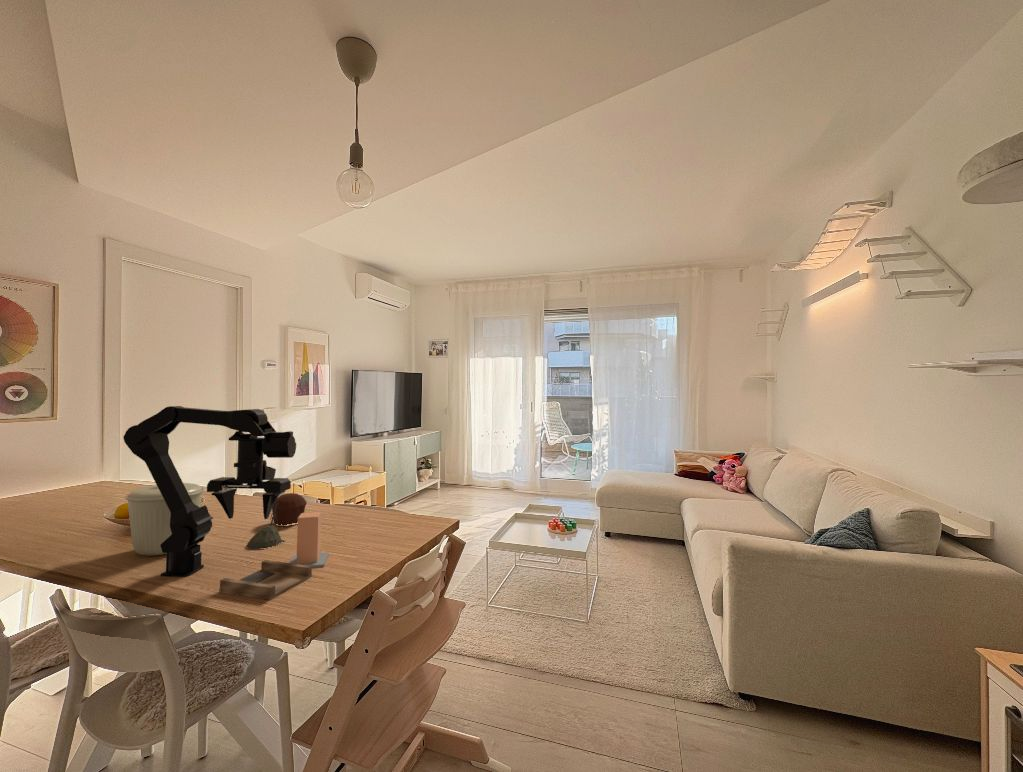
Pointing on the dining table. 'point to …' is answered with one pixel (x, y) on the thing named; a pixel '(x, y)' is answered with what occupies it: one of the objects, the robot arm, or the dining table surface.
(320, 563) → the slate mat
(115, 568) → the dining table surface
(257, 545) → the sword in stone
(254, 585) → the walnut channel
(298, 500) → the muffin
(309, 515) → the terracotta block
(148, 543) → the canister
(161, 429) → the robot arm
